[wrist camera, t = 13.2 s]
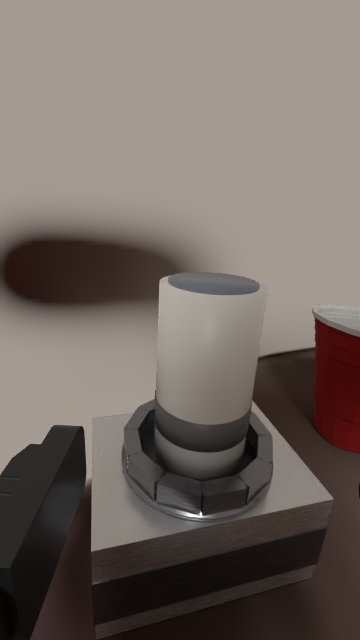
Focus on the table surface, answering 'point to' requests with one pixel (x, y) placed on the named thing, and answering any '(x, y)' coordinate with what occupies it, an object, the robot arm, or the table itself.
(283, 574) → the banded square pedestal
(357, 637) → the table surface
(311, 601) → the table surface
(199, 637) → the table surface
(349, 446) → the plastic cup
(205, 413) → the lens barrel
